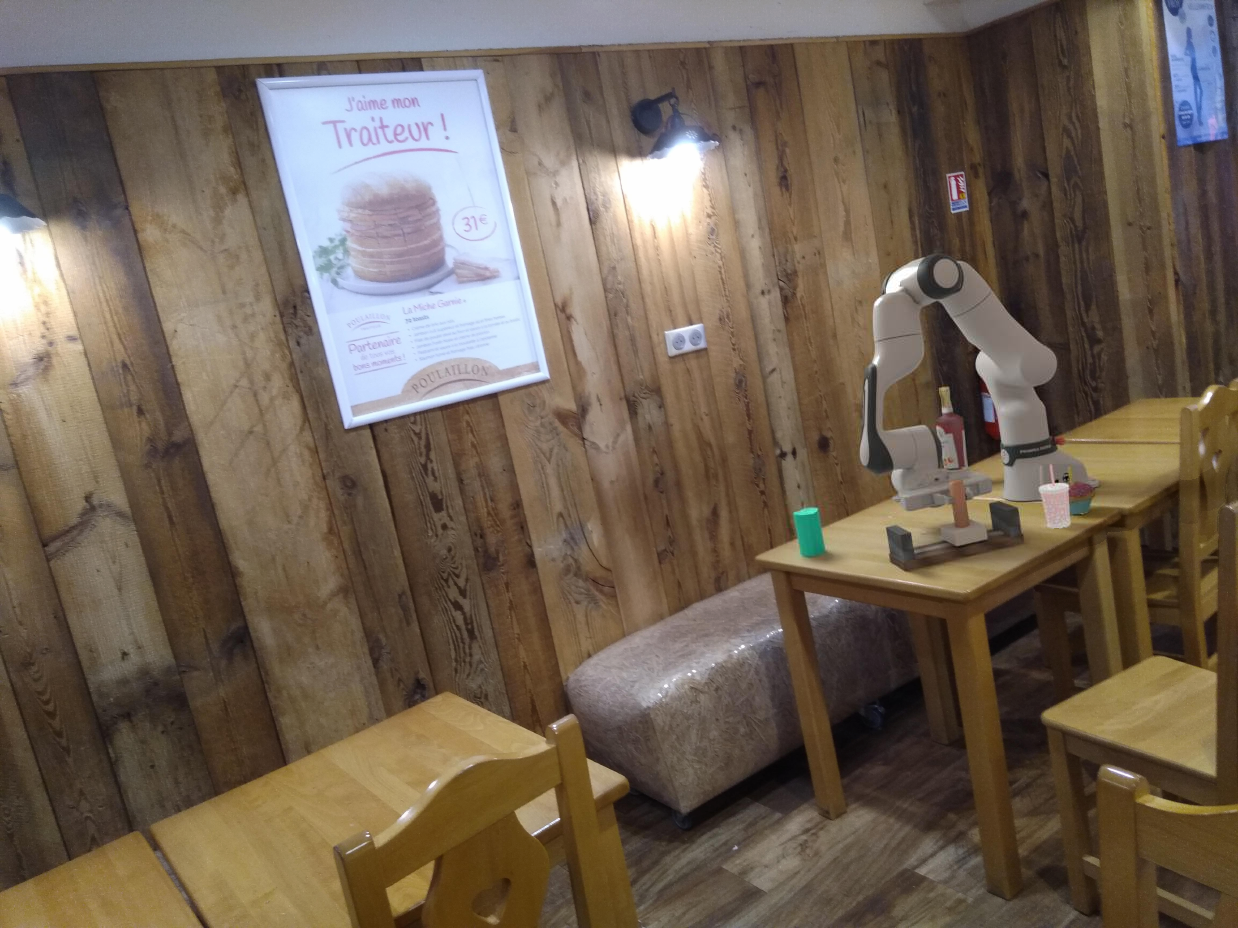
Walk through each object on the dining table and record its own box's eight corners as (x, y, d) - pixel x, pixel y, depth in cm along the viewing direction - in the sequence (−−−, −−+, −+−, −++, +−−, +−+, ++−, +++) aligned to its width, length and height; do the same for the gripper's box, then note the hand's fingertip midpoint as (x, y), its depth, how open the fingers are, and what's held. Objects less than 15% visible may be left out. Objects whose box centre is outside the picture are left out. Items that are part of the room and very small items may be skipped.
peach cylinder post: (972, 531, 200) (963, 475, 198) (987, 538, 193) (978, 480, 191) (942, 538, 200) (933, 482, 198) (956, 546, 193) (947, 487, 191)
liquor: (978, 484, 249) (963, 385, 244) (954, 490, 247) (939, 391, 243) (962, 480, 256) (948, 384, 252) (939, 486, 255) (924, 390, 250)
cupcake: (1096, 516, 201) (1089, 464, 199) (1054, 518, 206) (1047, 468, 204) (1099, 505, 208) (1092, 455, 206) (1058, 508, 213) (1052, 459, 211)
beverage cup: (1059, 519, 204) (1051, 460, 202) (1080, 523, 198) (1072, 462, 196) (1037, 526, 202) (1029, 466, 200) (1058, 531, 197) (1050, 469, 194)
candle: (823, 546, 222) (815, 500, 220) (827, 553, 216) (818, 505, 214) (799, 551, 222) (791, 504, 220) (802, 558, 216) (793, 510, 215)
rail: (1005, 534, 202) (1000, 500, 200) (1024, 542, 194) (1019, 507, 192) (890, 561, 200) (884, 527, 199) (904, 571, 192) (898, 535, 191)
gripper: (887, 484, 207) (911, 494, 193) (971, 465, 208) (1002, 474, 194) (891, 510, 208) (916, 523, 194) (975, 491, 209) (1006, 502, 195)
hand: (960, 498), depth 194 cm, fingers closed on peach cylinder post, 3 cm apart
